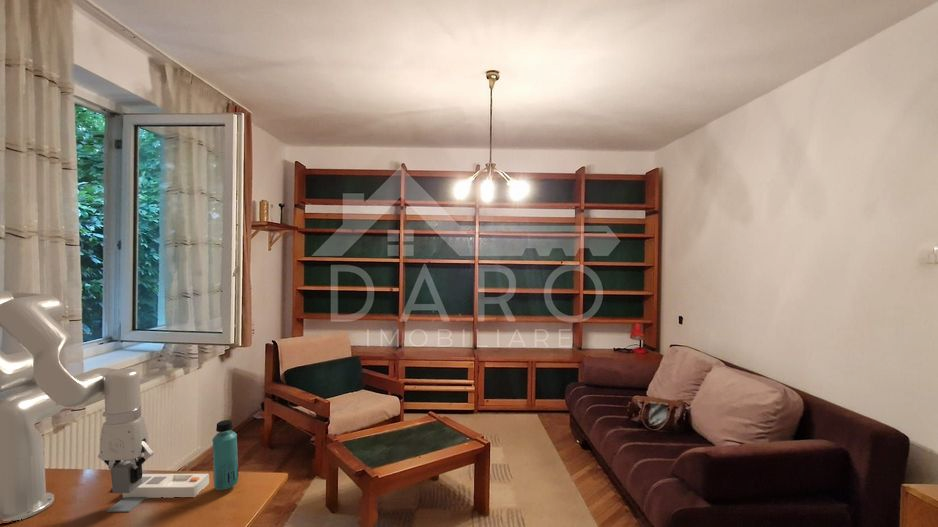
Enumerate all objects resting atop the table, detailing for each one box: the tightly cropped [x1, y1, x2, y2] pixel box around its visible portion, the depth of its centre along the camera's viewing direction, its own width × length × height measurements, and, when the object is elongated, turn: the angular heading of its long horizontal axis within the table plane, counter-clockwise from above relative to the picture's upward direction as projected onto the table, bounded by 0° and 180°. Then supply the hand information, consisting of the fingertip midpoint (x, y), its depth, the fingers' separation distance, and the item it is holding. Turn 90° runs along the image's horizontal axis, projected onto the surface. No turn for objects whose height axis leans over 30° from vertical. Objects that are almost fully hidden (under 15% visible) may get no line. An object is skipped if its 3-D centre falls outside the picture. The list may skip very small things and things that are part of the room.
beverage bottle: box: [211, 419, 240, 491], centre depth 123 cm, size 6×7×20 cm
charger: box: [111, 458, 142, 494], centre depth 115 cm, size 4×4×7 cm
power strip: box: [110, 473, 210, 499], centre depth 122 cm, size 26×7×4 cm, turn 91°
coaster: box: [106, 497, 147, 513], centre depth 115 cm, size 6×6×1 cm
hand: (127, 480), depth 115 cm, fingers closed on charger, 4 cm apart
